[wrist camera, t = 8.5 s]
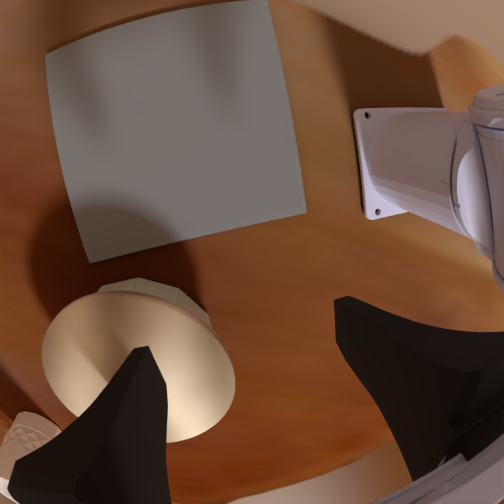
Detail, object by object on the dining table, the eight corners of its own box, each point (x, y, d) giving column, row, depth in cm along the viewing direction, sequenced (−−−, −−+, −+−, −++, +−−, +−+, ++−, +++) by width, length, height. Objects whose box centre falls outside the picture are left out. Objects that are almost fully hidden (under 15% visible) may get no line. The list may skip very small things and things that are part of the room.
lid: (207, 268, 16) (211, 316, 12) (249, 421, 21) (261, 471, 16) (15, 309, 15) (-20, 352, 11) (97, 439, 20) (88, 484, 15)
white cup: (5, 418, 23) (-20, 479, 14) (26, 397, 23) (-4, 469, 13) (55, 455, 26) (40, 516, 17) (83, 439, 25) (68, 512, 16)
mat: (265, 2, 15) (266, -1, 15) (303, 210, 21) (306, 212, 20) (48, 56, 14) (44, 54, 13) (92, 260, 19) (89, 263, 19)
